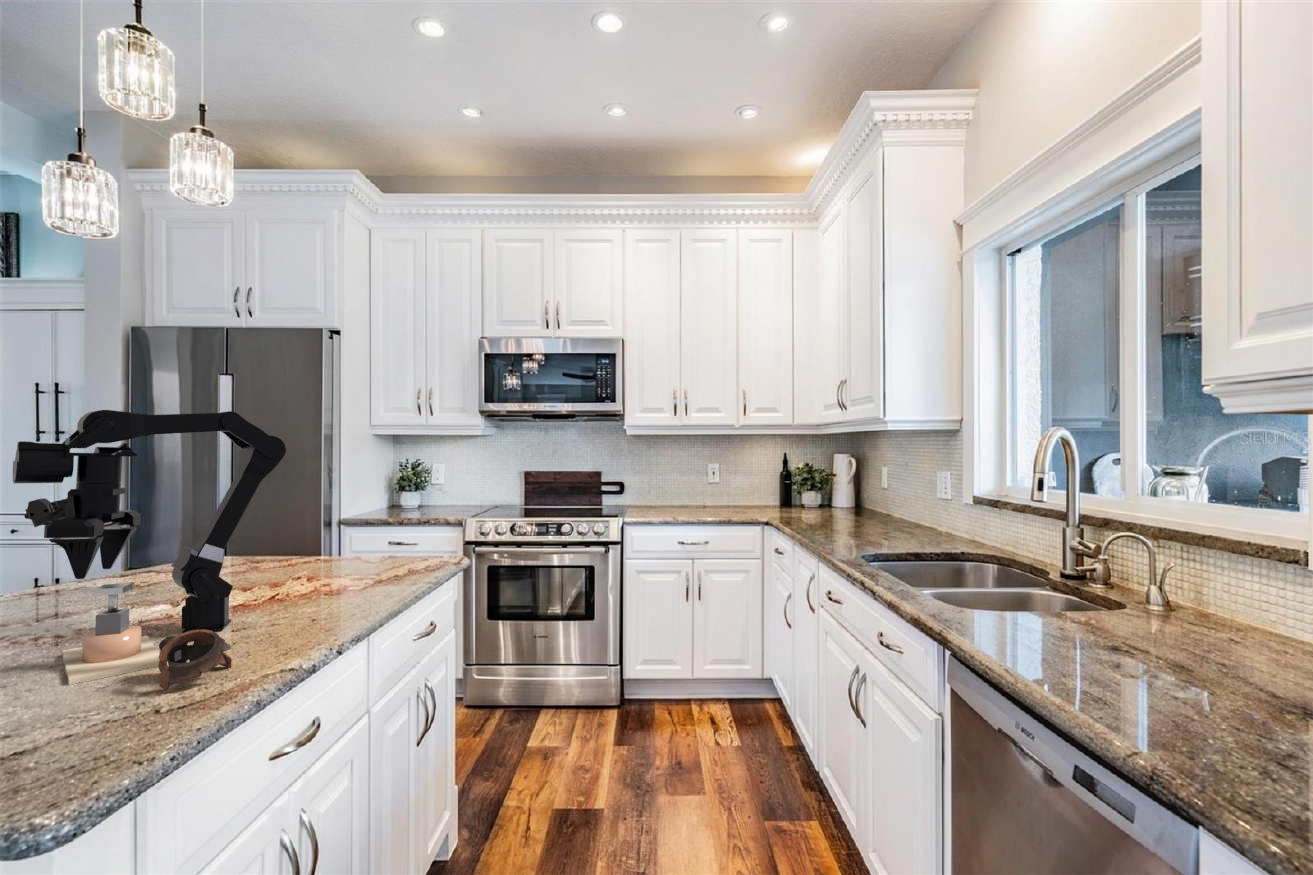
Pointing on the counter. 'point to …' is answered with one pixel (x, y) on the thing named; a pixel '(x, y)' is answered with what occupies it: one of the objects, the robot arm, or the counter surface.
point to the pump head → (109, 593)
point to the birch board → (108, 663)
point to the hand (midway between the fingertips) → (94, 573)
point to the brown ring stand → (191, 656)
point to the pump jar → (111, 638)
